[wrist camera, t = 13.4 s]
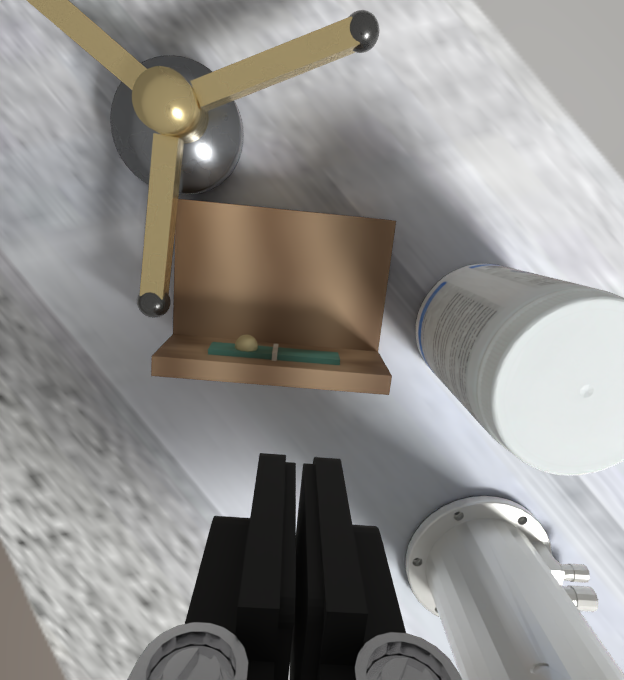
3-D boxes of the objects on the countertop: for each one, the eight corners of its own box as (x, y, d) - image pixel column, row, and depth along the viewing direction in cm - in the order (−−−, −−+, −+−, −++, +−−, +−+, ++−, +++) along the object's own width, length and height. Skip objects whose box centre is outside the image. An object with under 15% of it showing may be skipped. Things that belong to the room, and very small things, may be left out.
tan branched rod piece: (129, -180, 28) (74, -309, 21) (371, 58, 32) (393, 15, 25) (-58, 127, 32) (-157, 104, 25) (177, 306, 36) (148, 331, 29)
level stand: (385, 219, 35) (414, 223, 26) (367, 351, 37) (389, 394, 29) (189, 199, 34) (153, 197, 25) (185, 336, 37) (151, 375, 28)
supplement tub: (452, 403, 39) (541, 515, 25) (388, 309, 37) (447, 373, 23) (558, 335, 38) (716, 413, 24) (499, 234, 35) (635, 252, 21)
